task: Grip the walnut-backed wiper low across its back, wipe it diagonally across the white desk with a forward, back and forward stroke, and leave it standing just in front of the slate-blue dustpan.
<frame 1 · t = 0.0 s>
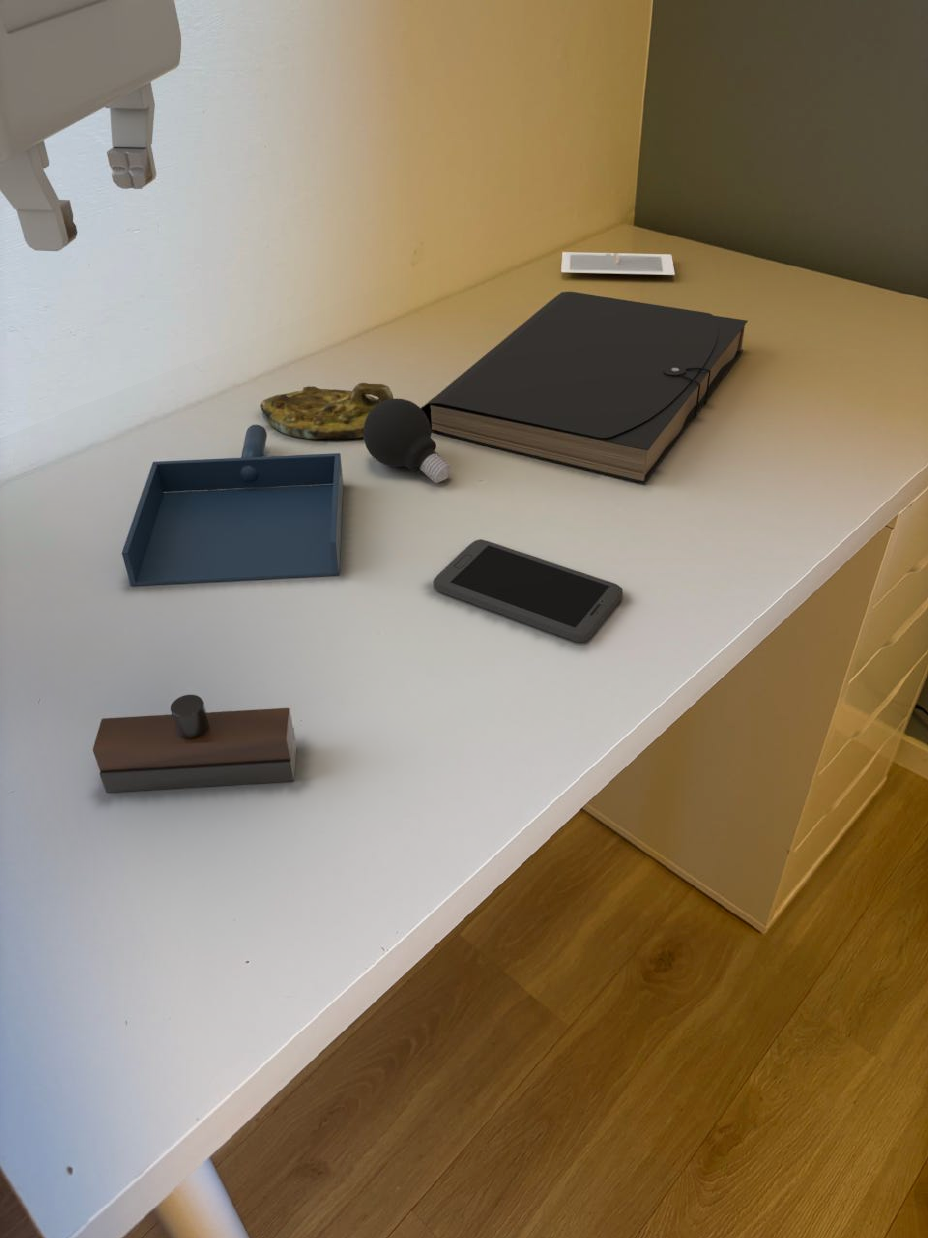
hand: (98, 213, 48), 34 cm above the table, tool pointing down, fingers open, 8 cm apart
black leather journal: (592, 390, 108), on the table
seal: (330, 421, 103), on the table
wiper: (203, 769, 65), on the table
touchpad: (616, 272, 136), on the table
cell phone: (527, 593, 80), on the table
light bulb: (410, 467, 96), on the table
dustpan: (244, 533, 87), on the table
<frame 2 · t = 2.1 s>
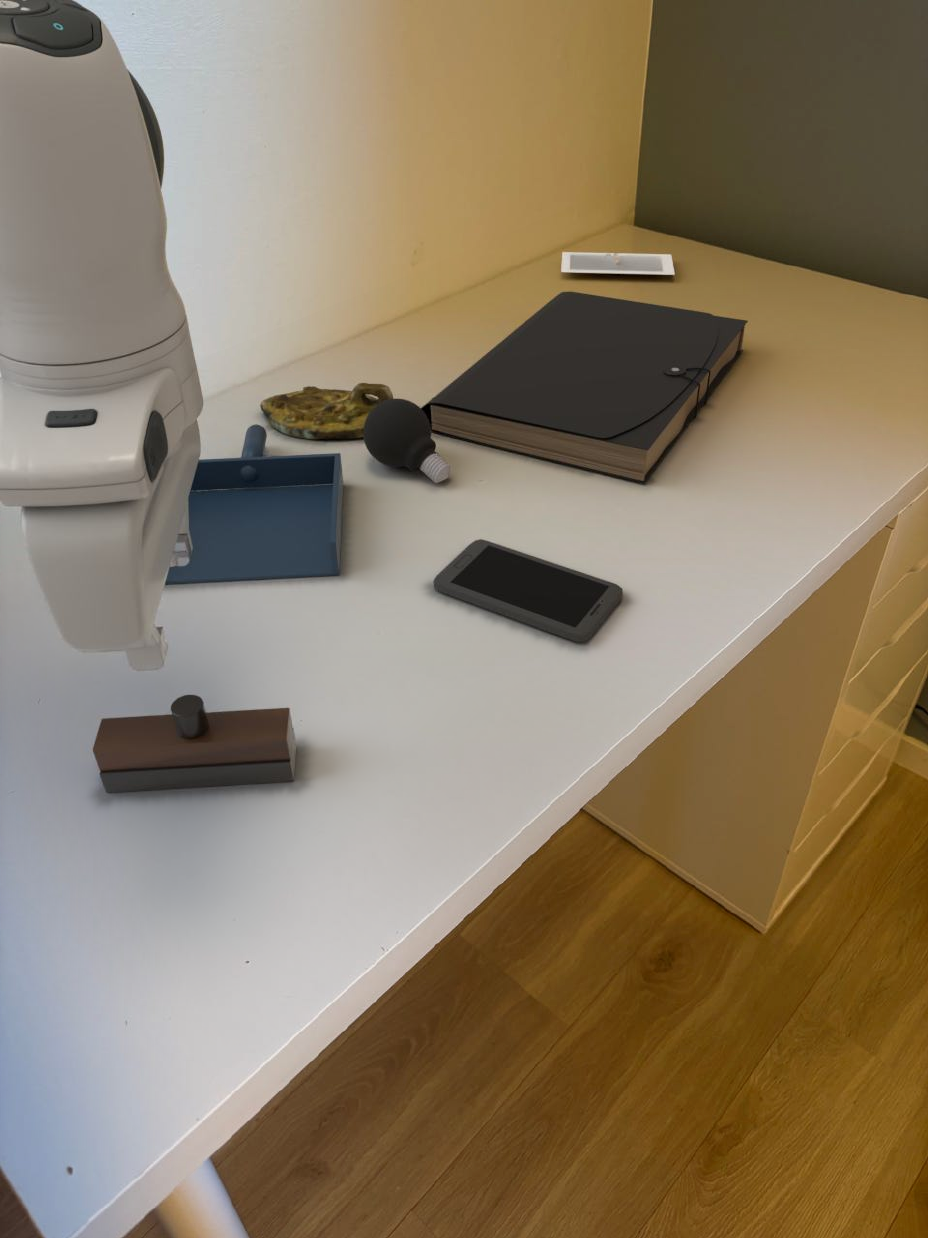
hand: (165, 607, 57), 13 cm above the table, tool pointing down, fingers open, 8 cm apart
nothing on the table moved.
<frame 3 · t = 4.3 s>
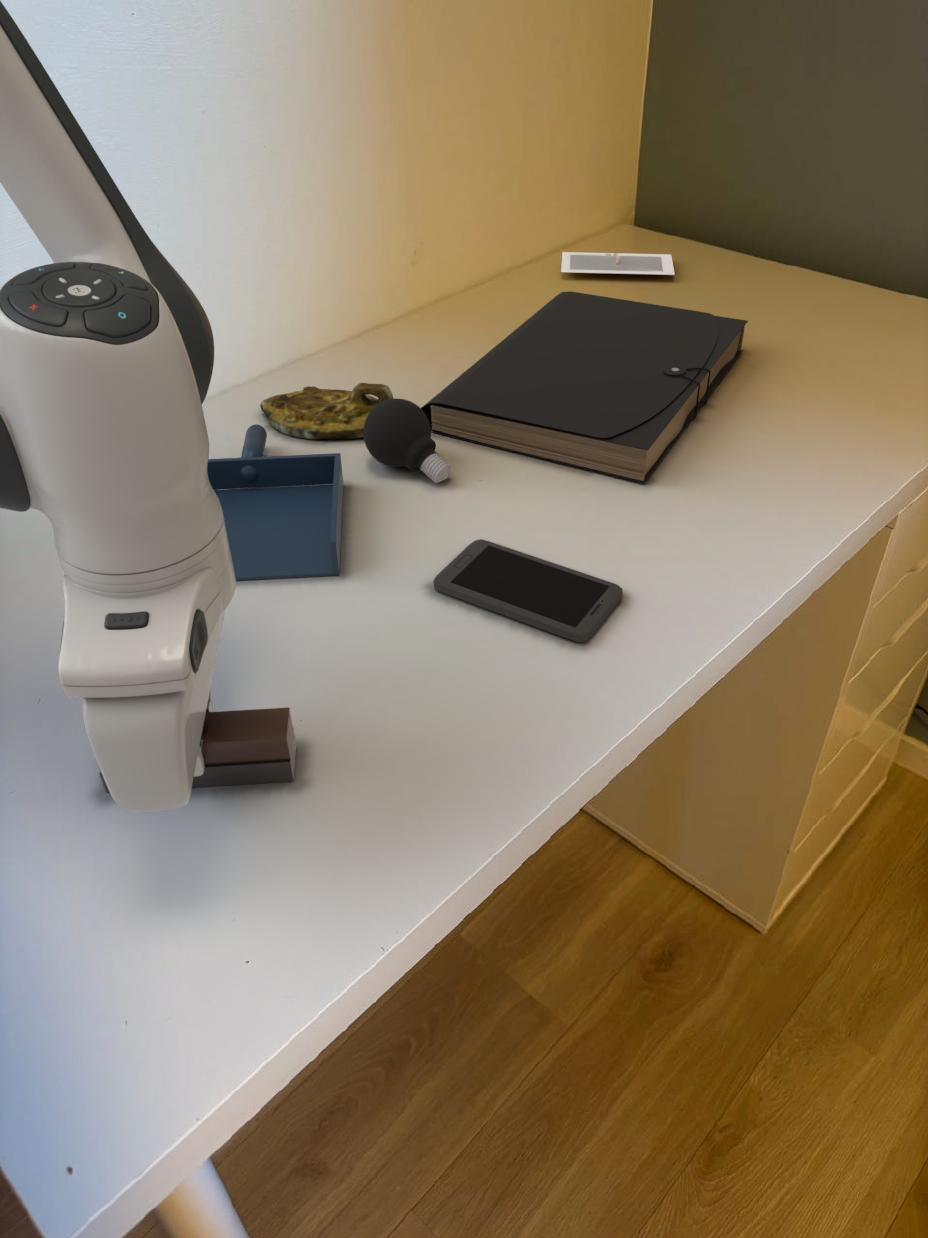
hand: (196, 744, 64), 2 cm above the table, tool pointing down, fingers closed on wiper, 3 cm apart
wiper: (203, 768, 65), on the table, touching gripper
everything else where it was.
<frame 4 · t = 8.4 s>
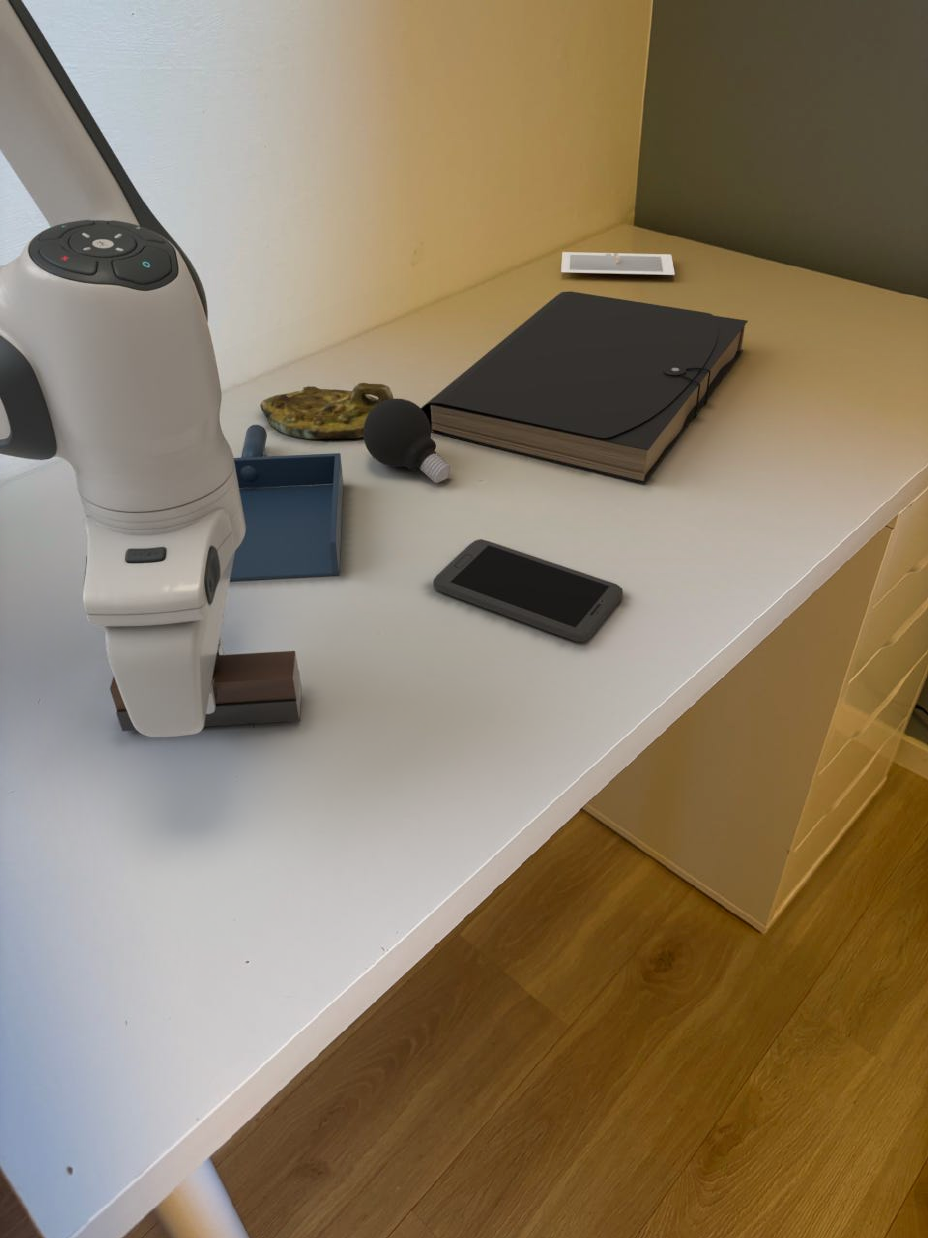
hand: (207, 685, 68), 3 cm above the table, tool pointing down, fingers closed on wiper, 3 cm apart
wiper: (213, 710, 69), on the table, touching gripper
everything else where it was.
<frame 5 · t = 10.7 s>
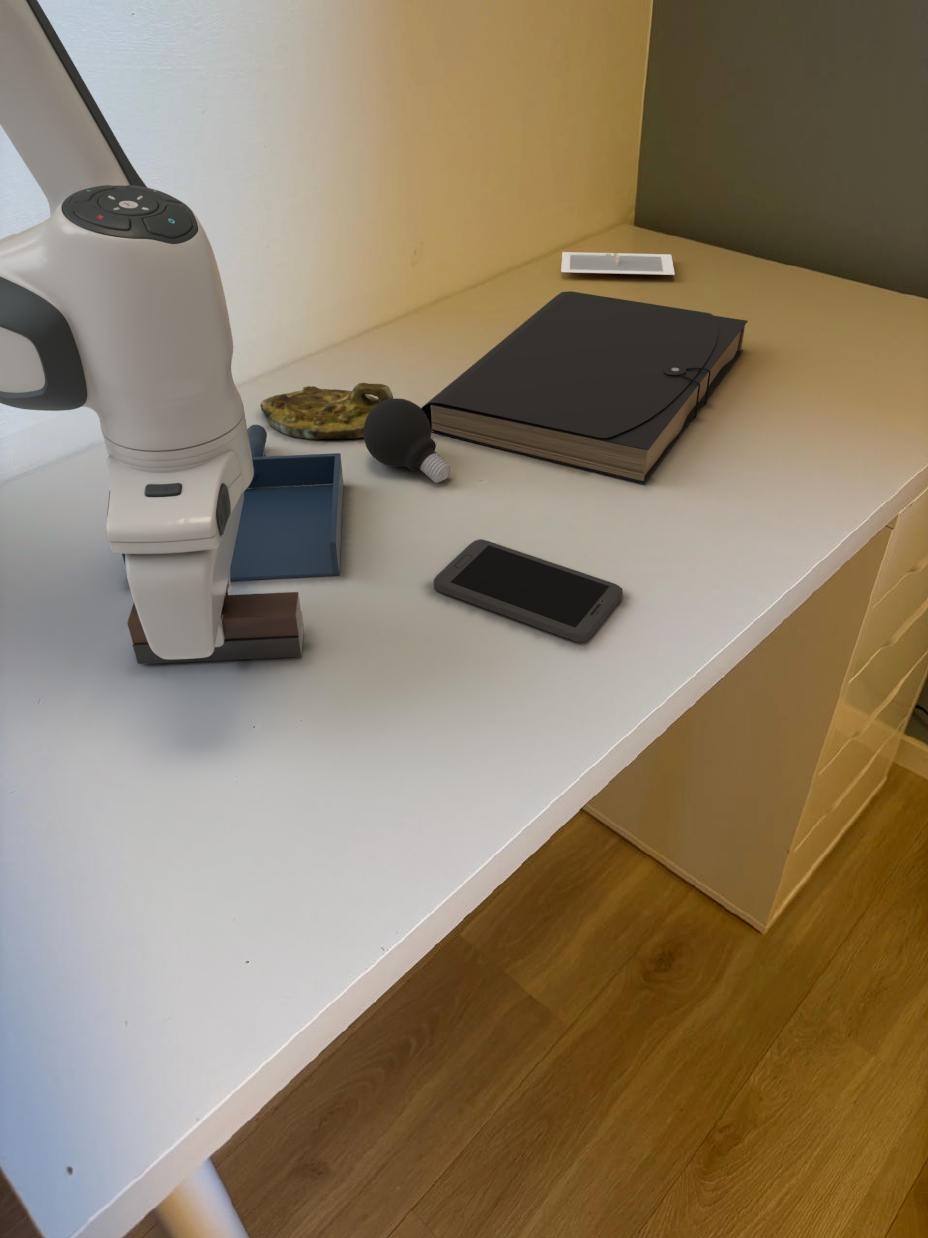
hand: (217, 623, 73), 3 cm above the table, tool pointing down, fingers closed on wiper, 3 cm apart
wiper: (222, 646, 75), on the table, touching gripper
everything else where it was.
when the fingers open (2 cm above the table, at t = 12.5 s): wiper stays where it is, on the table.
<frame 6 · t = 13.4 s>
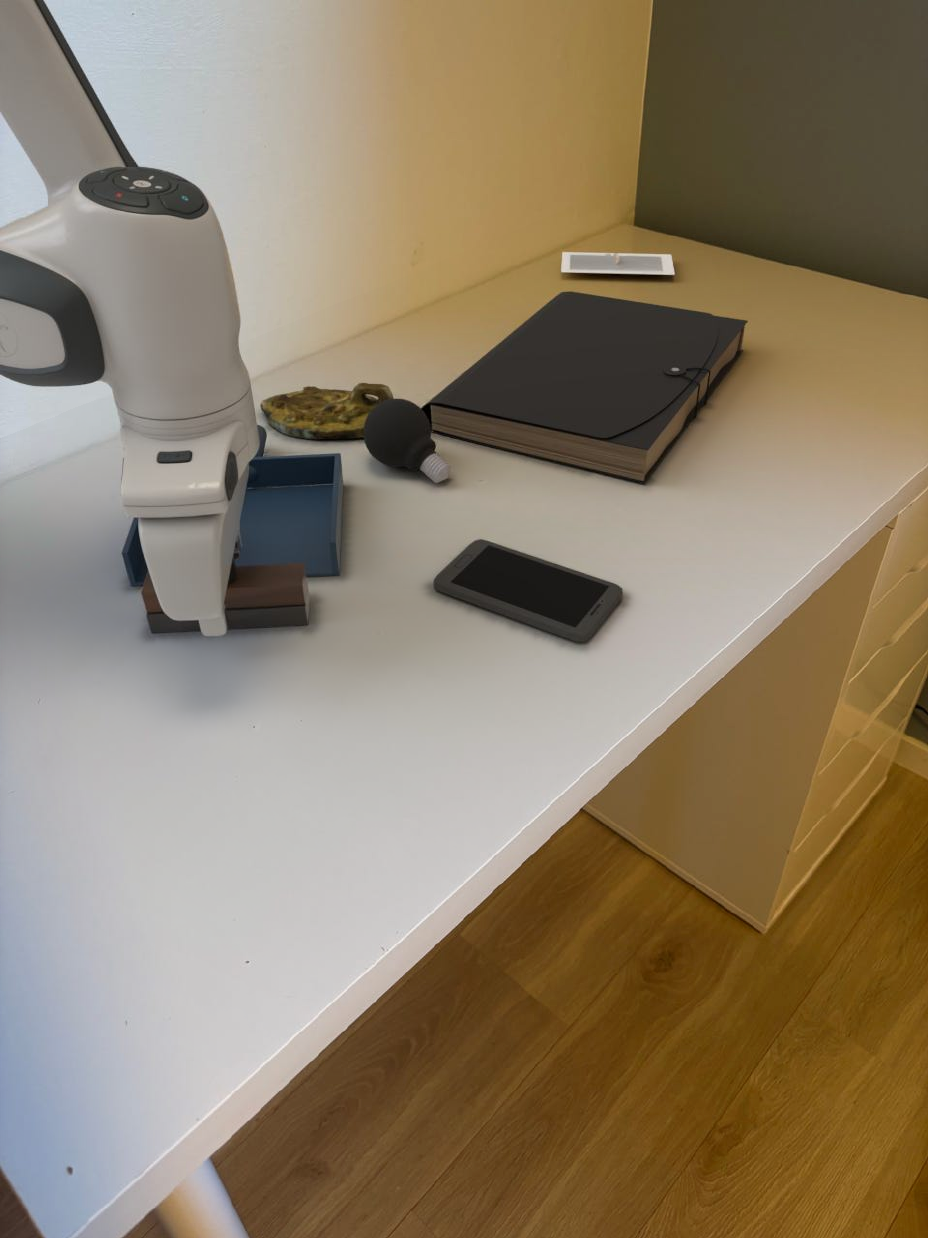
hand: (223, 590, 76), 3 cm above the table, tool pointing down, fingers open, 8 cm apart
wiper: (232, 616, 78), on the table
everything else where it was.
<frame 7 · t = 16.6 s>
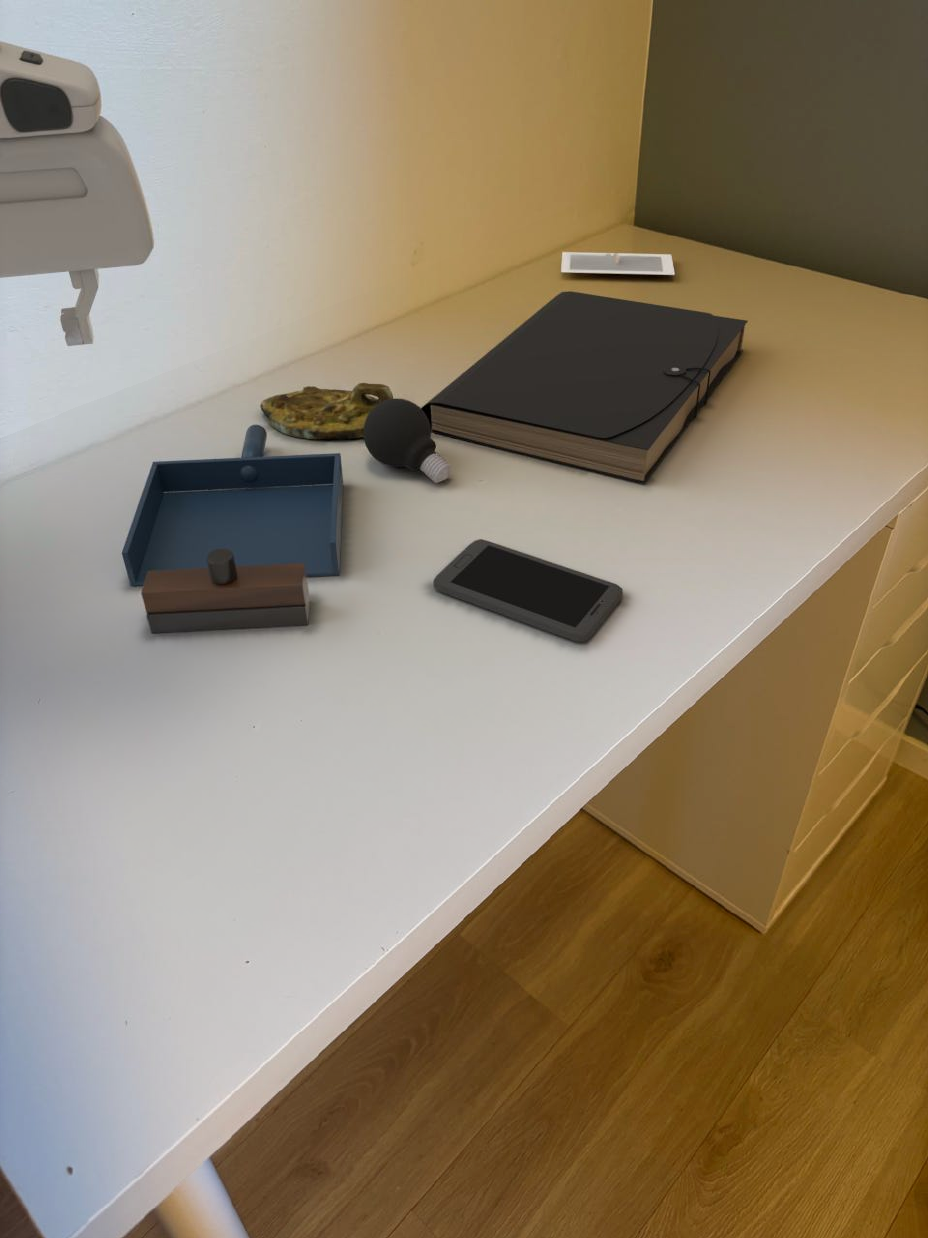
nothing on the table moved.
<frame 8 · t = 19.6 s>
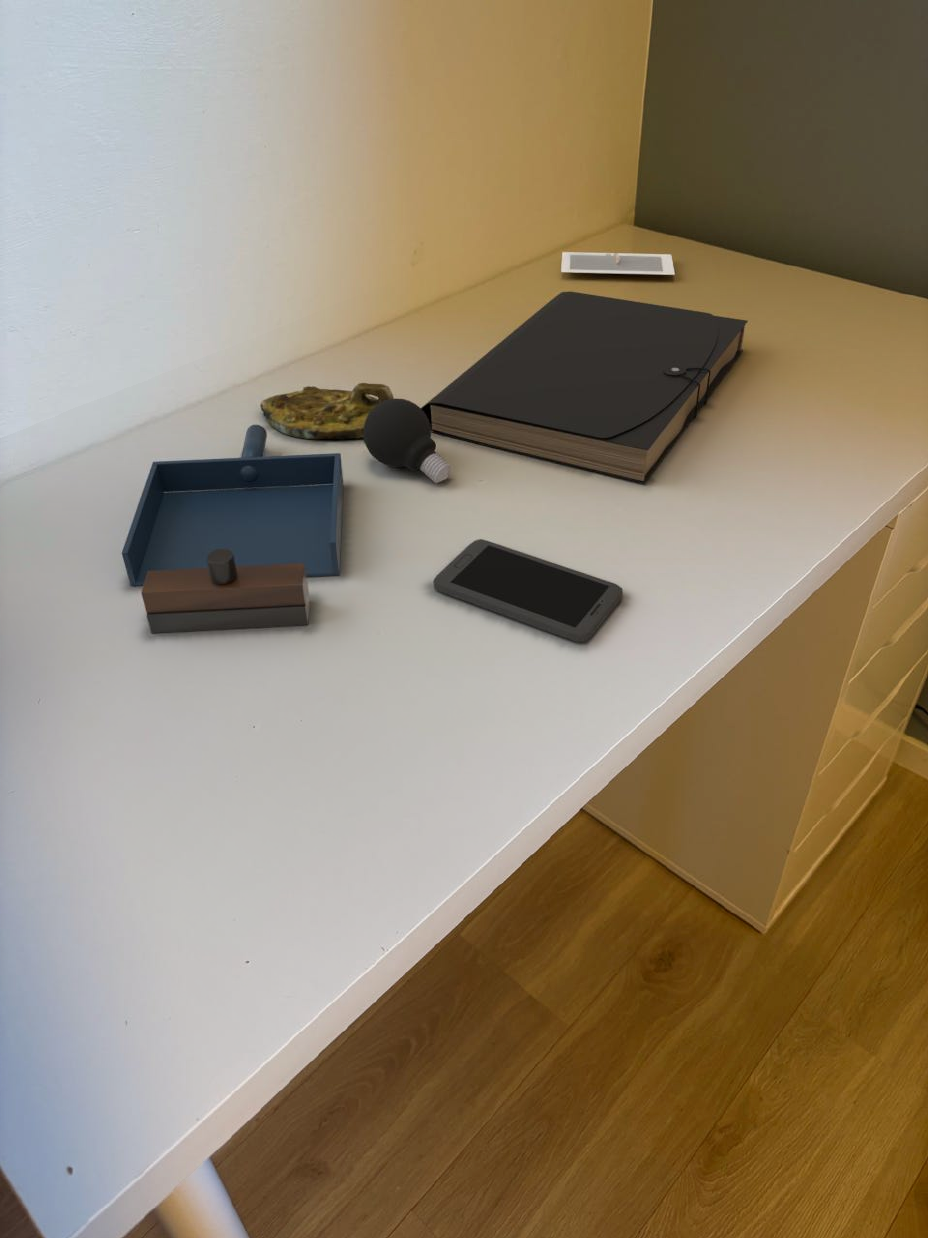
nothing on the table moved.
at the end: wiper inside the target area in the dustpan (0.1 cm from its centre), point 0.0 cm above the dustpan's base; wiper tilted 0°; wiper moved 16.1 cm from its start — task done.
